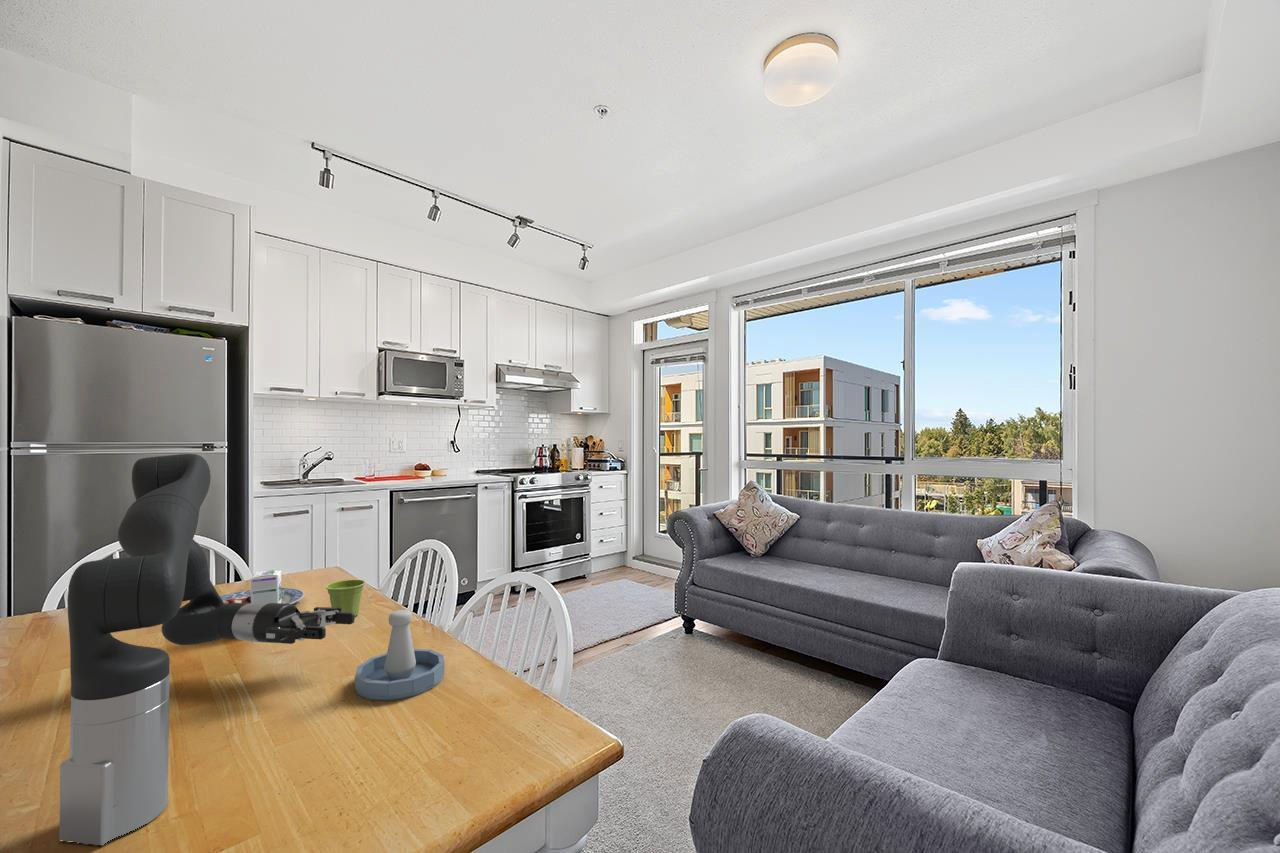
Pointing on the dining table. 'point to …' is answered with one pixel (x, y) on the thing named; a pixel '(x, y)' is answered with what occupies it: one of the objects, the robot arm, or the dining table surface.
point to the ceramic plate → (245, 596)
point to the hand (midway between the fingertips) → (339, 625)
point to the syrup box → (266, 587)
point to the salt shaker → (400, 647)
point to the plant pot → (346, 595)
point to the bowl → (424, 677)
